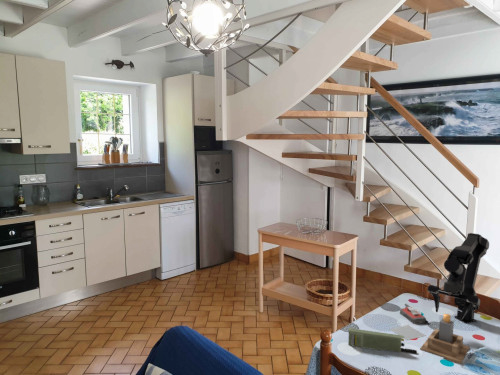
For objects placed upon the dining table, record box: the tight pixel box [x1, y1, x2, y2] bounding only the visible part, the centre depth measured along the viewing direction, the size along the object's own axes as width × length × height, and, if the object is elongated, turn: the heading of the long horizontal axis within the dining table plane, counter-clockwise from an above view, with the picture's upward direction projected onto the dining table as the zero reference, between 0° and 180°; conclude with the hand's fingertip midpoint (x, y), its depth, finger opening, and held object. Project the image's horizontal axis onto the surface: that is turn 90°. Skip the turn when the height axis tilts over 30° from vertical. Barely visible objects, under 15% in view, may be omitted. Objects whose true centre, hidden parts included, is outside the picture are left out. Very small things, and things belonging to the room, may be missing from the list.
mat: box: [389, 324, 427, 341], centre depth 160 cm, size 10×10×1 cm
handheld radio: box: [347, 327, 418, 354], centre depth 148 cm, size 7×3×25 cm
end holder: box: [419, 328, 470, 365], centre depth 147 cm, size 14×14×5 cm
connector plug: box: [438, 313, 455, 344], centre depth 147 cm, size 4×4×13 cm
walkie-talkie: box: [399, 303, 429, 325], centre depth 177 cm, size 9×4×20 cm
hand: (448, 315), depth 154 cm, fingers open, 9 cm apart
